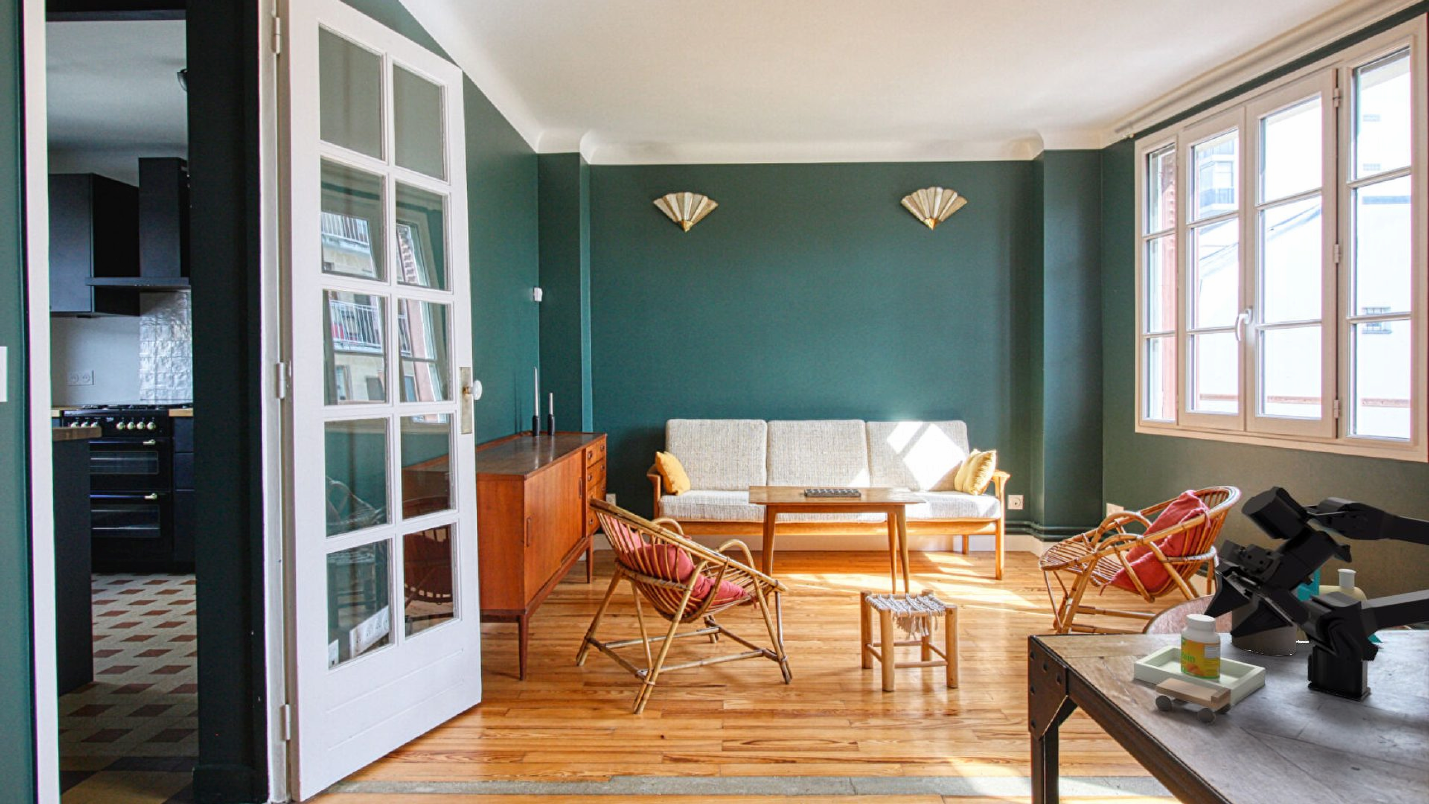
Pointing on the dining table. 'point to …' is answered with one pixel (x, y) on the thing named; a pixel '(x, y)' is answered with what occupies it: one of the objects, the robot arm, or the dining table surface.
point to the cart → (1194, 698)
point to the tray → (1231, 676)
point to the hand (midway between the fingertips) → (1218, 626)
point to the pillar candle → (1266, 636)
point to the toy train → (1315, 589)
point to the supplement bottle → (1200, 648)
